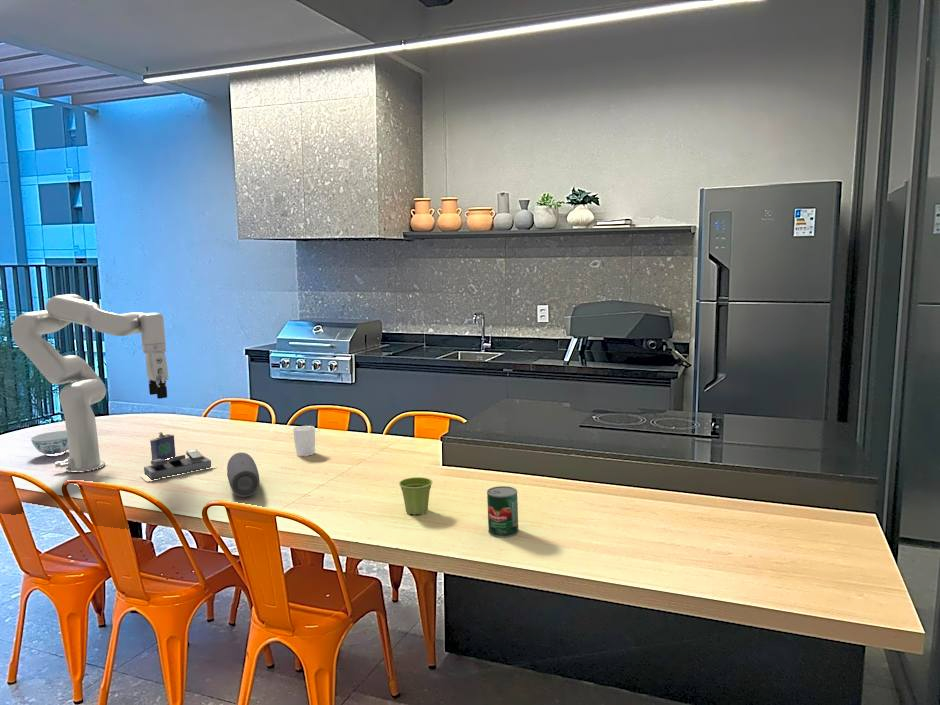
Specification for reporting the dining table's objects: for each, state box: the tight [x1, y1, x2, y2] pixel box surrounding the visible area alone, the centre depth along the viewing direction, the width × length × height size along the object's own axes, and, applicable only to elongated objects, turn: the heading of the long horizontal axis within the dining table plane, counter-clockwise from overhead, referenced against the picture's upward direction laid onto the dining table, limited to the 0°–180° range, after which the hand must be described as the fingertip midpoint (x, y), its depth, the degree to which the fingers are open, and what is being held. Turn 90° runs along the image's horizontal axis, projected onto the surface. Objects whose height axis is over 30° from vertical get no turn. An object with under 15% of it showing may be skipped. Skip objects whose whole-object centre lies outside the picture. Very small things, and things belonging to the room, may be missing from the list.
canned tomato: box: [486, 485, 520, 538], centre depth 185 cm, size 8×8×11 cm
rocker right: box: [185, 449, 204, 461], centre depth 253 cm, size 4×7×1 cm, turn 39°
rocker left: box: [150, 459, 169, 466], centre depth 245 cm, size 4×7×1 cm, turn 39°
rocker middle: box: [168, 454, 186, 462], centre depth 249 cm, size 4×7×1 cm, turn 39°
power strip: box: [143, 455, 212, 480], centre depth 249 cm, size 23×10×3 cm, turn 129°
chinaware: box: [30, 430, 69, 455], centre depth 278 cm, size 15×15×8 cm
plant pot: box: [398, 476, 433, 516], centre depth 202 cm, size 9×9×9 cm
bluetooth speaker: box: [226, 452, 260, 498], centre depth 227 cm, size 23×9×10 cm, turn 21°
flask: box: [149, 431, 176, 461], centre depth 264 cm, size 9×3×11 cm, turn 146°
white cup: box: [292, 425, 316, 457], centre depth 266 cm, size 8×8×10 cm
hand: (158, 396), depth 253 cm, fingers open, 9 cm apart
